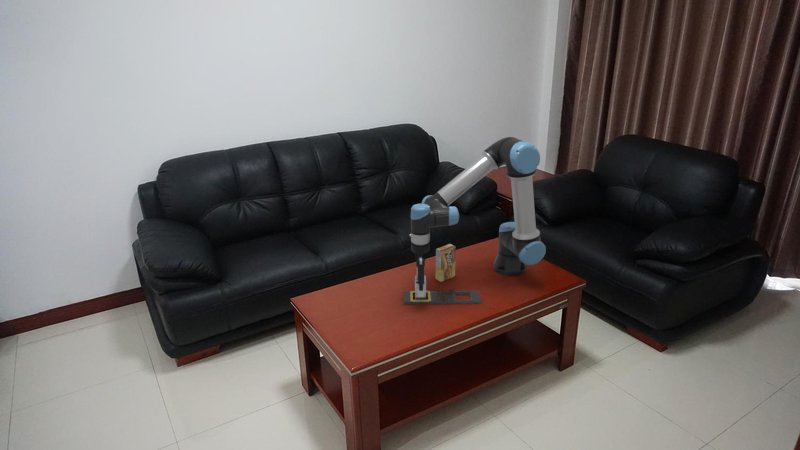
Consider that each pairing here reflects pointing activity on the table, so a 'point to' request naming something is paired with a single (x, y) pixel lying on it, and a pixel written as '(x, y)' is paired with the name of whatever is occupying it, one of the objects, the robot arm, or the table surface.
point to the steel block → (417, 289)
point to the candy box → (445, 262)
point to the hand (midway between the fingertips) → (420, 288)
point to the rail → (443, 297)
